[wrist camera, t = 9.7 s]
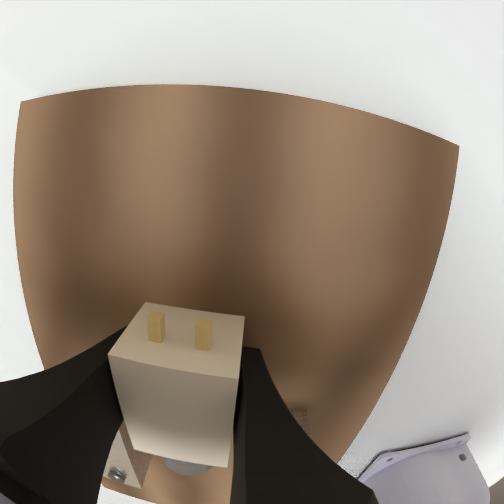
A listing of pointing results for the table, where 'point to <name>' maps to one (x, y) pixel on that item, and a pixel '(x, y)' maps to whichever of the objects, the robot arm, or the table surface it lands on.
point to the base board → (232, 238)
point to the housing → (137, 462)
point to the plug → (179, 384)
